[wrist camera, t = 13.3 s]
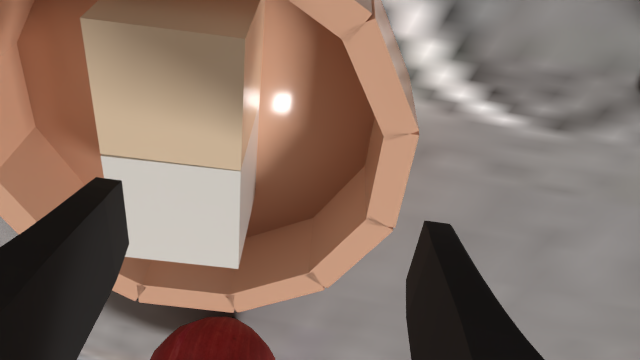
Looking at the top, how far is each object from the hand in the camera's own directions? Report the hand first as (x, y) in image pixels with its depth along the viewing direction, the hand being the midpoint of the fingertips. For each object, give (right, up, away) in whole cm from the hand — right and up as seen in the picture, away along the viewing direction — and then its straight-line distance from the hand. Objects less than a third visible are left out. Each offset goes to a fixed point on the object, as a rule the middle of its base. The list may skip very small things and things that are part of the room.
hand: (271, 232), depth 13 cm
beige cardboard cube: (-3, +6, +5) cm, 8 cm away
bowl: (-3, +4, +6) cm, 8 cm away
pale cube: (-3, +3, +7) cm, 8 cm away
